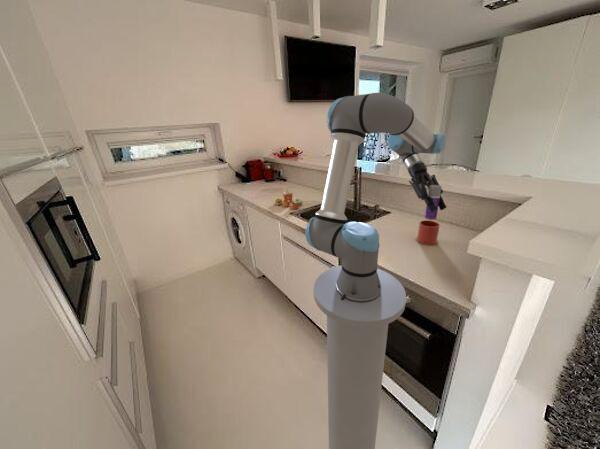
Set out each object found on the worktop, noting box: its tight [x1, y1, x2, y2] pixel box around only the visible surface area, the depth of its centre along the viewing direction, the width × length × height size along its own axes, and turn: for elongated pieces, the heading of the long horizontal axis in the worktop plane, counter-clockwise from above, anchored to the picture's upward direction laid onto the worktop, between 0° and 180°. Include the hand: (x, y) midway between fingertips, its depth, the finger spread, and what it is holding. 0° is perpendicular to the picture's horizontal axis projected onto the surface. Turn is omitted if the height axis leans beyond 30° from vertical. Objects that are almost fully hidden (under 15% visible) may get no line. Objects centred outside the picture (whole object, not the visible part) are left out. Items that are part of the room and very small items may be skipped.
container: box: [424, 184, 442, 221], centre depth 109 cm, size 5×5×15 cm
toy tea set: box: [273, 189, 303, 211], centre depth 179 cm, size 26×16×10 cm, turn 43°
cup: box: [416, 219, 441, 246], centre depth 115 cm, size 8×8×9 cm
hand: (439, 209), depth 107 cm, fingers closed on container, 5 cm apart
